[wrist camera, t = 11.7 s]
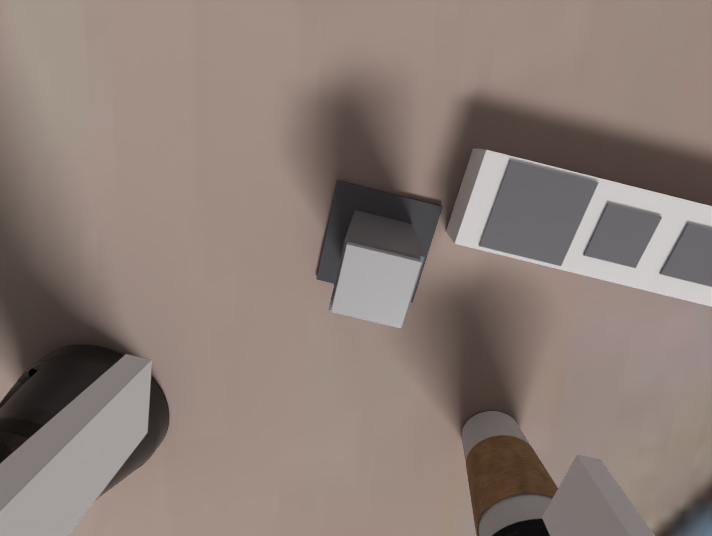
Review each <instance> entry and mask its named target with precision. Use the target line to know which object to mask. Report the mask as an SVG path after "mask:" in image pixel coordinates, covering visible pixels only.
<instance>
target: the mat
mask: <svg viewBox="0 0 712 536" xmlns="http://www.w3.org/2000/svg"><path fill="white" fill-rule="evenodd" d="M355 210H357V211H361V212H365V213H370V214H374V215H378V216H382V217H386V218H390V219H394V220H398V221H402V222H406V223H410V224H412V225H413V228H414V230H415V233H416V236H417V238H418V241H419V243H420V246H421V249H422V251H423V254H424V257H425V258H424V261H423V264H422V267H421V271H420V274H419V277H418V280H417V283H416V287H415V290H414V293H413V296H412V299H411V302H413V299H414V296H415V292H416V289H417V286H418V283H419V280H420V276H421V273H422V270H423V267H424V264H425V261H426V257H427V254H428V251H429V248H430V245H431V242H432V238H433V235H434V232H435V229H436V226H437V223H438V219H439V216H440V213H441V210H442V206H440V205H436V204H432V203H428V202H424V201H420V200H416V199H411V198H407V197H403V196H399V195H395V194H391V193H387V192H383V191H379V190H375V189H371V188H367V187H363V186H359V185H355V184H351V183H347V182H343V181H339V180H338V181H337V185H336V190H335V194H334V199H333V204H332V208H331V213H330V218H329V223H328V227H327V232H326V237H325V241H324V246H323V251H322V255H321V260H320V265H319V269H318V274H317V279H318V280H322V281H326V282H330V283H334V284H335V280H336V276H337V271H338V267H339V263H340V258H341V254H342V250H343V246H344V241H345V237H346V234H347V231H348V228H349V226H350V223H351V220H352V217H353V214H354V211H355Z"/></svg>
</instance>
